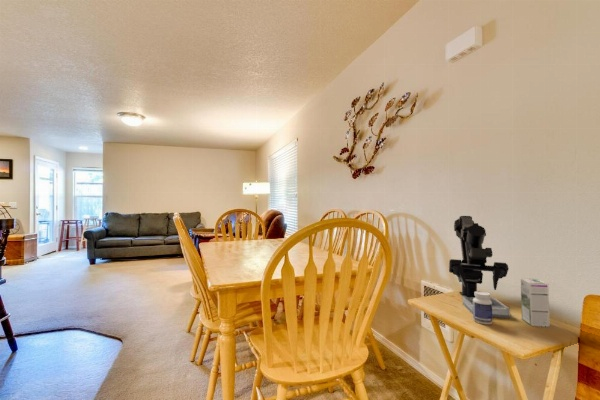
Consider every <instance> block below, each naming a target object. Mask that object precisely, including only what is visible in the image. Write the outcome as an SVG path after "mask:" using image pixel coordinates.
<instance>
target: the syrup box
mask: <svg viewBox="0 0 600 400" xmlns="http://www.w3.org/2000/svg"><path fill="white" fill-rule="evenodd" d="M549 294H550V293H549V283H547V282H545V281H542V280H540V279H536V278H521V279H520V296H521V297H520V298H521V301H520V302H521V304H520V305H521V320H523V321H524V322H525V323H527V324H528V325H530V326H532V327H541V326H542V328H550V327H551V325H550V324H551V323H550V298H549V296H550V295H549ZM545 326H546V327H545Z"/></svg>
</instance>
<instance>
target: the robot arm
mask: <svg viewBox="0 0 600 400" xmlns="http://www.w3.org/2000/svg"><path fill="white" fill-rule="evenodd" d="M453 230H454V232H455V236H456V237H457V238H458V239H459V241H460V249H461V255H462V259H456V258H455V259H453V258H452V259H449V263H448V271H449V273H451V274H453V275H456V277H457V280H458V283H461V291H459V292H458V293H459V294H460V295H461V296H462V297H463V296H467V297H475V295H474V292H475V291H478V284H479V285H481V284H483V276H484V273H483V272H491V273H492V281H493V282H492V284H493V285H492V286H493V290H494V291H497V287H498V283H499V280H500V279H503V278H505V277H507V275H508V272H509V265H508V263H506V262H500V261H499V262H498V261H495V262H494V263H493V265H486V264H487V258H492V257H493V251H492V247H485V248H483V243H484V240H485V237H486V236H487V232H486V229H485V227H483V226H482V225H479V223H477V222H475V221H474V220H473V216H470V215H460V216H459V218H457V219H456V220H454V223H453Z"/></svg>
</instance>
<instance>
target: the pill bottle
mask: <svg viewBox="0 0 600 400" xmlns="http://www.w3.org/2000/svg"><path fill="white" fill-rule="evenodd" d="M474 295H475V298H473V314H472V320H473V321H474V322H475V323H478V324H481V325H491V324H493V317H492V301H491V300H490V299H489V298H491V293H489V292H486V291H481V290H477V291H475V292H474Z"/></svg>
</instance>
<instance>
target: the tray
mask: <svg viewBox="0 0 600 400" xmlns="http://www.w3.org/2000/svg"><path fill="white" fill-rule="evenodd" d="M473 298H475V297H467V296H462V305H463V306H464V307H465V308H466V309H467V310H468V311H469V312H470V313H471V314H472V315H473ZM489 299H490V300H491V301H492V318H499V319H500V318H504V319H510V318H511V315H510V313H511V312H510V311H511V310H510V309H511V308H510V307H508V306H507V305H506V304H504V303H503V302H501V301H500V300H498V299H497V298H495V297H494V296H490V298H489Z"/></svg>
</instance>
